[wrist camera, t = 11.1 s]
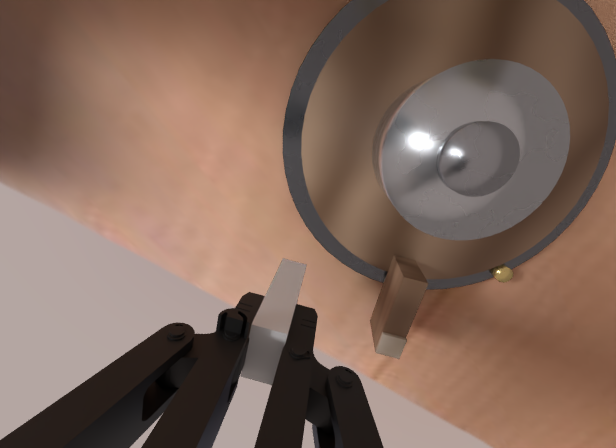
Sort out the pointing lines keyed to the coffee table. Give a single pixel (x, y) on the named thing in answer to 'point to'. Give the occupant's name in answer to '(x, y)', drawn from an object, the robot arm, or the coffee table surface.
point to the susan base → (294, 119)
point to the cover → (472, 148)
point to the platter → (395, 81)
